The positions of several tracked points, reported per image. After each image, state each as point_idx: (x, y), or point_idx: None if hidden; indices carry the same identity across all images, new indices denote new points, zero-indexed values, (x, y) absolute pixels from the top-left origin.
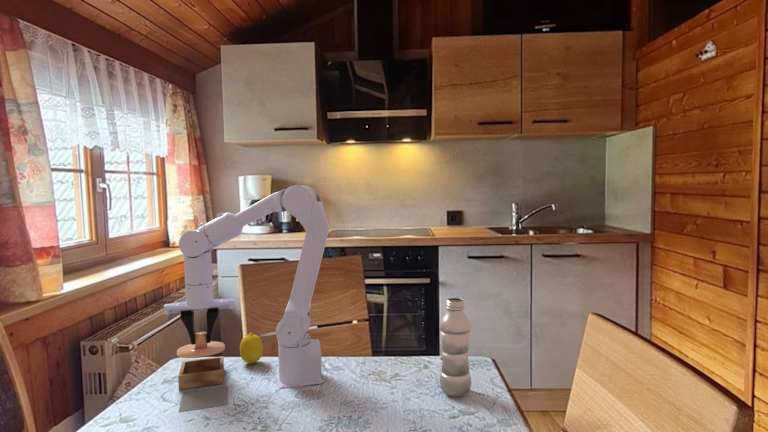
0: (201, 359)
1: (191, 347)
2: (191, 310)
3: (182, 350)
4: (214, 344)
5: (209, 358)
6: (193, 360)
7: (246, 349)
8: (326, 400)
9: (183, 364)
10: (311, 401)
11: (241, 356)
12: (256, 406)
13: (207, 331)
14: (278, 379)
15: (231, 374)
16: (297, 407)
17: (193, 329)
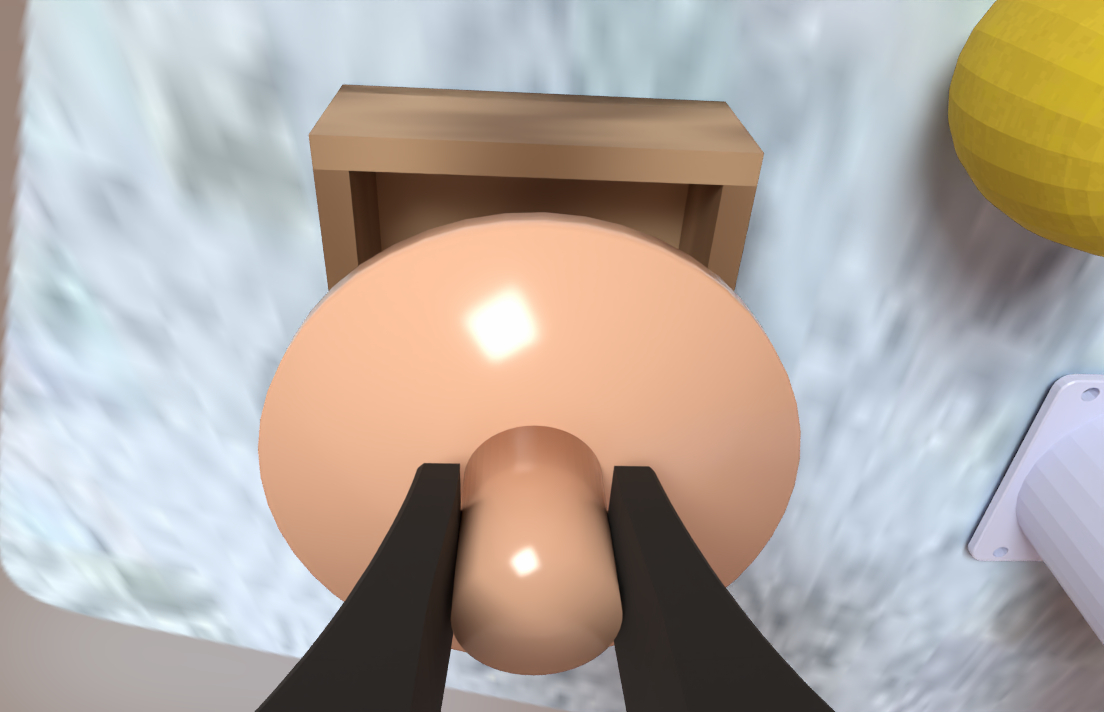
0: (520, 163)
1: (417, 438)
2: None
3: (330, 511)
4: (688, 424)
5: (607, 164)
6: (432, 163)
7: (1033, 231)
8: (1092, 675)
9: (341, 246)
10: (1030, 666)
11: (950, 130)
12: (788, 644)
13: (630, 709)
14: (1025, 471)
15: (768, 217)
16: (947, 689)
17: (433, 695)
